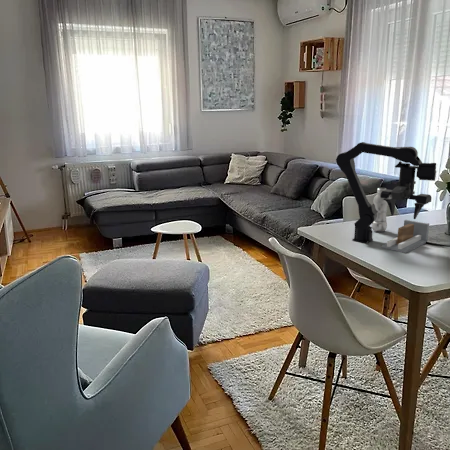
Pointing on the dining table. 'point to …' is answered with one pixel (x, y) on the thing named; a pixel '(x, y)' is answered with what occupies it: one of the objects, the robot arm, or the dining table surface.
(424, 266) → the dining table surface
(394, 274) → the dining table surface
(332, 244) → the dining table surface
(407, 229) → the door panel
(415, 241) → the track board
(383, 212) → the plastic bottle
